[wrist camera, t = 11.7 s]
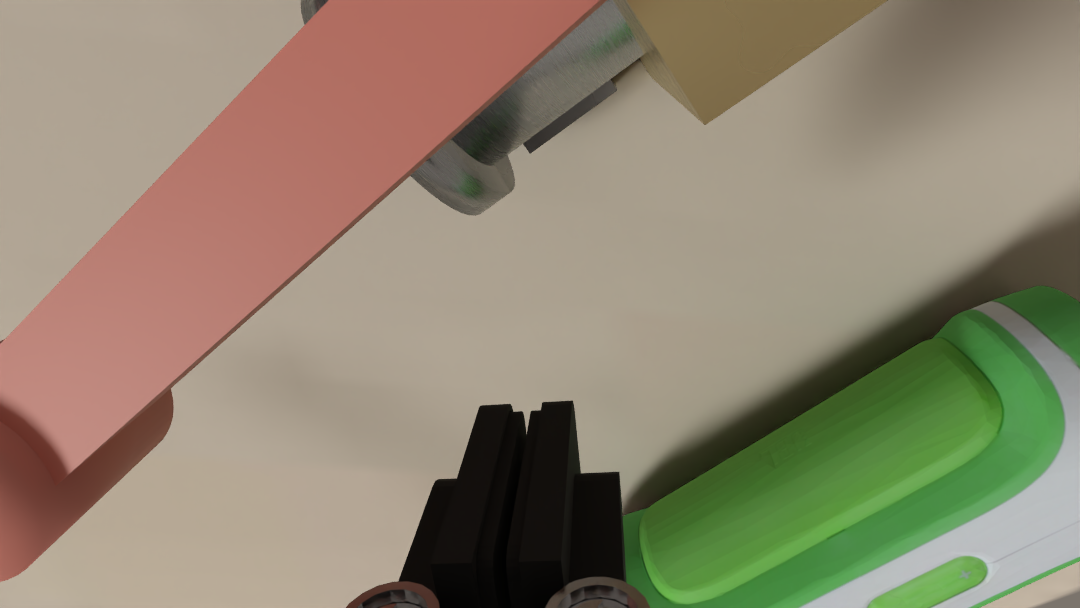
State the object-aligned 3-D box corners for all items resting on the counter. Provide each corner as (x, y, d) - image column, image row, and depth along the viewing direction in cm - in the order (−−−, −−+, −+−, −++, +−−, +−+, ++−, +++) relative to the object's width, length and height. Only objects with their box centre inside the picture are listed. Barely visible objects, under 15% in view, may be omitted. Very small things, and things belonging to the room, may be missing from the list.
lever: (-17, 356, 13) (-227, 468, 10) (861, -566, 7) (1069, -1032, 4) (134, 484, 14) (-12, 626, 10) (1017, -262, 8) (1290, -450, 5)
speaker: (673, 619, 29) (697, 806, 22) (564, 506, 27) (553, 670, 20) (1089, 397, 24) (1293, 550, 17) (987, 239, 22) (1167, 337, 15)
